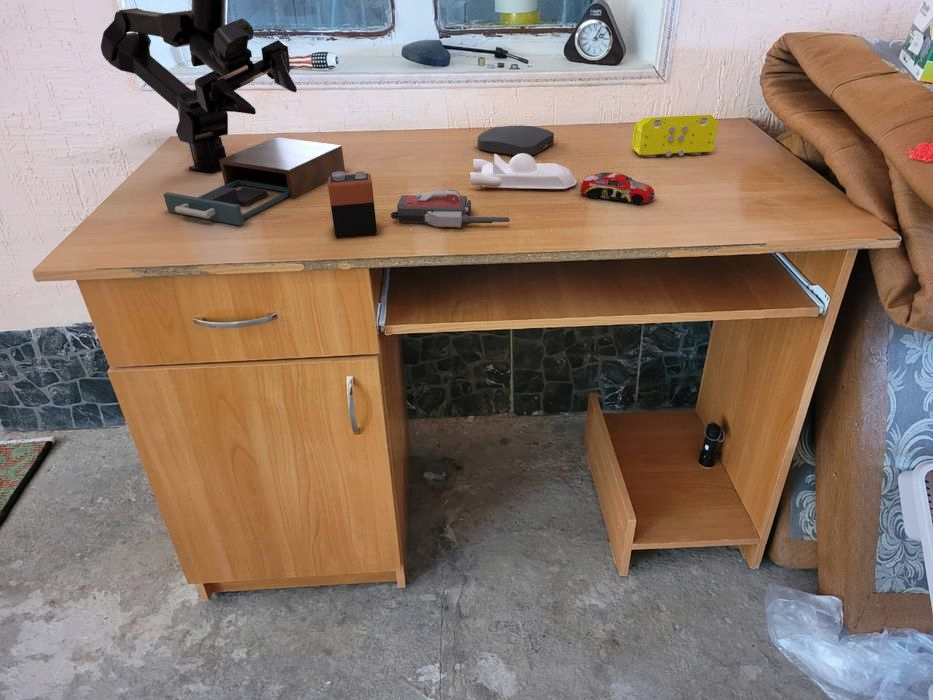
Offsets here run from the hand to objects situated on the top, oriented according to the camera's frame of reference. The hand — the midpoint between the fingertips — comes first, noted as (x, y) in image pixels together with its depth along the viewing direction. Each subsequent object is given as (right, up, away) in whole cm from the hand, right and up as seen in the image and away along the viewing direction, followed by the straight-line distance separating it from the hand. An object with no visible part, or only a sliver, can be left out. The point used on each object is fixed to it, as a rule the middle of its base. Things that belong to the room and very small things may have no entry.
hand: (275, 100), depth 115 cm
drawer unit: (-2, -10, +15) cm, 18 cm away
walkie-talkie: (+31, -22, -5) cm, 39 cm away
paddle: (-9, -18, +4) cm, 20 cm away
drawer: (-9, -18, +3) cm, 20 cm away
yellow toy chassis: (+78, -3, +23) cm, 81 cm away
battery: (+16, -25, -8) cm, 31 cm away
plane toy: (+45, -13, +9) cm, 48 cm away
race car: (+61, -17, +3) cm, 63 cm away
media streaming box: (+45, +1, +31) cm, 54 cm away
